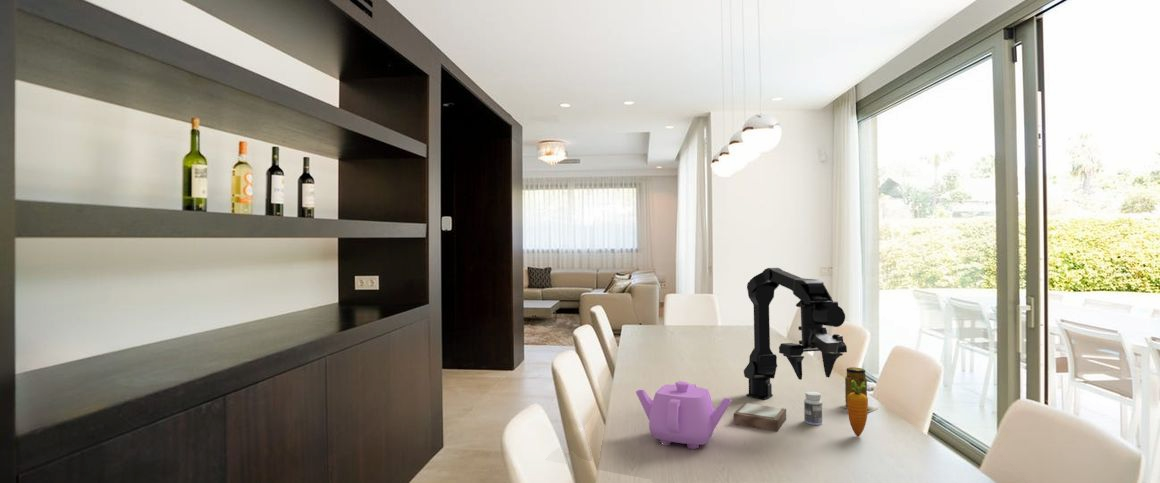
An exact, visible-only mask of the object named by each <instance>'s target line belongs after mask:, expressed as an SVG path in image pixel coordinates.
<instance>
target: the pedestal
mask: <svg viewBox="0 0 1160 483" xmlns="http://www.w3.org/2000/svg"><path fill="white" fill-rule="evenodd" d="M786 420H787V408H784V407H783V408H782V407H778V406H777V407H776V406H775V407H774V406H768V405H762V404H756V403H747V402H743V404H742V405H741V406H739V408H737V409H736V410H735V412H733V425H736V426H738V425H739V426H743V427H749V428H756V429H760V430H761V429H762V430H767V431H772V432H779V430H780V429H781V427H782V426H783V425H784V424H785V422H786Z"/></svg>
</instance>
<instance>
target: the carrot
mask: <svg viewBox="0 0 1160 483" xmlns="http://www.w3.org/2000/svg"><path fill="white" fill-rule="evenodd" d="M851 383H852V386H853V388H852V389H853V390H854V393H850V394H849V395H848V396H847V407H848V408H847V415H848V420H849V424H850V426H851V429H852V432H854V435H855V436H856V437H861V435H862V433H863V431H864V429H865V427H866V424H867V423H866V422H867V419H868V413H869V412H868V409H869V408H868V406H869V398H868V395H867V396H866V395H864V394H862V393H861V391H862V390H863V388H866V386H865V383H866V382H864V381H863V382H862V384H861V386H860V387H858V386H857V384H856V382H855V381H854V380H851Z"/></svg>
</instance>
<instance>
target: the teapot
mask: <svg viewBox="0 0 1160 483" xmlns="http://www.w3.org/2000/svg"><path fill="white" fill-rule="evenodd" d="M635 394H636V396H637V397H638V400H639V402H640V404H641V406H642V408H643V411H644V412H645V414H646V416H647V419H648V428H649V432H650V434H651V436H652V438H654V439H657V440H660V441H659V443H660V442H661V443H663V444H669V445H671V444H672V443H678V444H686V446H687V448H688V449H690V448H691V449H690V450H698V449H700V446H699V445H705V444H707V443H708V442H709V441H710V440H711V437H712V435H713V434H714V431H715V428H717V426H718V425H719V422H720V421H721V419H722V417H723V416H724V415H725V413H726V411H727V409H728V408H729V406H730V404H731V403H732V399H730V398H726V397H723V399H722V401H721V402H720V403H719V405H718V406H717V407H716V409H715V408H714V407H715V406H714V403H713V400H712V397H711V396H712V395H711V392H710V391H709V389H708V388H704V387H698V386H697V384H695V383H689V382H688V381H683V380H682V381H680V380H679V381H677V382H676V381H675V384H663V385H662V386H661V387H660V388H659V389H658V390H657V391H656V392H655V394H654V397H653V399H652V398H651V397H650V396H649V394H648V393H647V392H646V391H645V389H637V390H636V391H635ZM670 443H671V444H670ZM663 444H662V445H663ZM697 448H698V449H697Z"/></svg>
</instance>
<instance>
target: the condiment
mask: <svg viewBox="0 0 1160 483" xmlns="http://www.w3.org/2000/svg"><path fill="white" fill-rule="evenodd" d="M866 376H867V375H866V370H865V369H864V368H860V367H855V366H854V367H847V368H846V376H845V378H844V379H845V380H844V381H845V384H844V385H845V389H844V391H845V400H844V401H845V404H842V405H840V408H844V409H848V407H847V396H848V395H849V394H850V393H854V390H853V389H852V388H853V386H852V383H851V380H854V381H855V382H856V384H857V386H858V387H860V386H861V384H862V382H863V381H864V382H866V383H865V386H866V388H863V390H862V391H861V393H862V394H864V395H866V396H867V397H868V379H867V377H866ZM878 409H879V408H878V407H874V406H870V405H868V413H870V412H873V411H876V410H878Z"/></svg>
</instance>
